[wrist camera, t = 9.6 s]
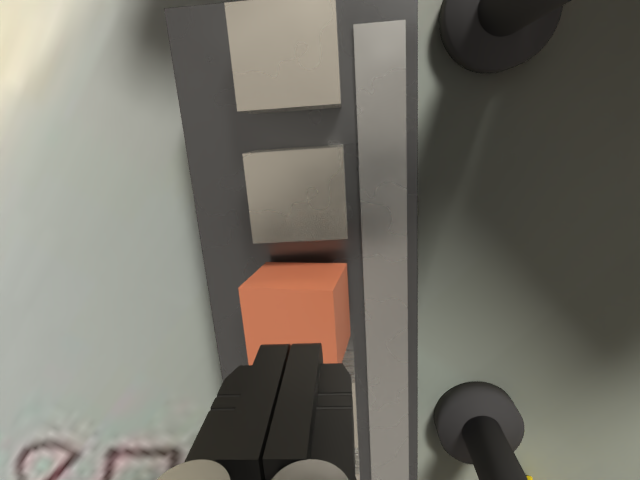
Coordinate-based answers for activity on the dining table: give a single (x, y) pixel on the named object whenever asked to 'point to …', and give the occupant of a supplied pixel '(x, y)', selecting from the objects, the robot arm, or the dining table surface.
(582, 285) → the dining table surface
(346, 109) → the breaker strip
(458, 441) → the stand
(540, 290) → the dining table surface
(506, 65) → the stand
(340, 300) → the breaker paddle
